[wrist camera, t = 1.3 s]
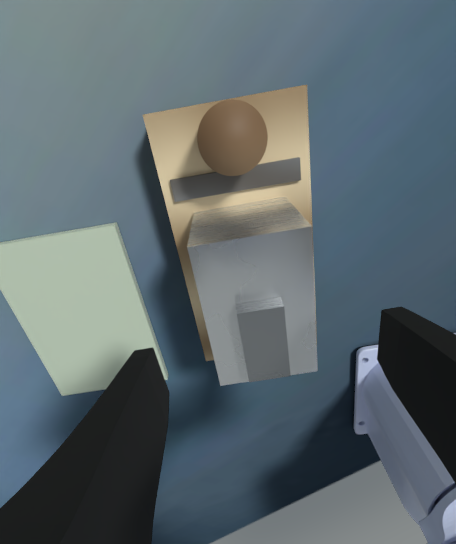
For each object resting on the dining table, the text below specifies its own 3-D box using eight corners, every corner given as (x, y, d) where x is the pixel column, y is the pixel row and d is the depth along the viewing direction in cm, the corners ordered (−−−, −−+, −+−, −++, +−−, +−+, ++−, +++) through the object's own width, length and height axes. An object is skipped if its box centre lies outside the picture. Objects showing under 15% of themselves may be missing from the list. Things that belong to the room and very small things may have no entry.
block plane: (305, 320, 21) (330, 373, 17) (206, 335, 22) (205, 393, 17) (293, 89, 15) (326, 78, 11) (152, 114, 15) (128, 114, 11)
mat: (168, 374, 23) (167, 379, 23) (65, 390, 23) (62, 395, 23) (116, 222, 18) (114, 225, 17) (-18, 245, 18) (-23, 248, 18)
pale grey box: (294, 314, 18) (322, 382, 13) (218, 326, 18) (220, 398, 14) (285, 196, 15) (317, 233, 10) (193, 212, 15) (185, 255, 10)
